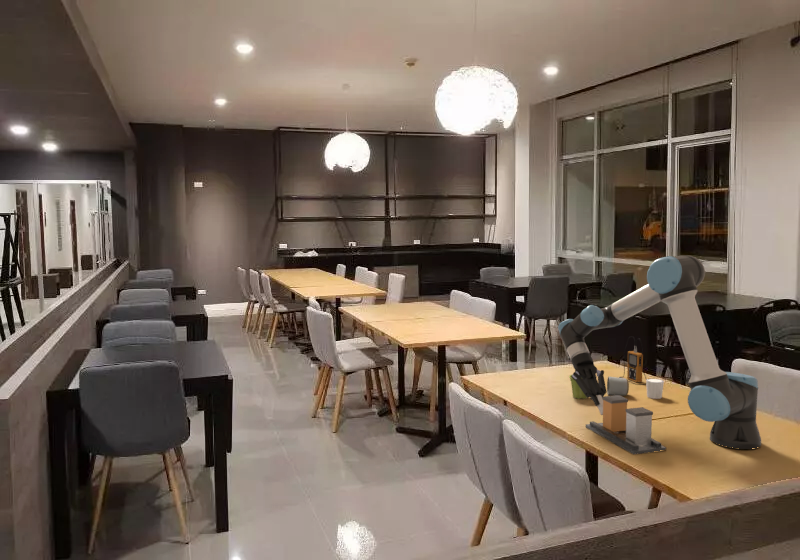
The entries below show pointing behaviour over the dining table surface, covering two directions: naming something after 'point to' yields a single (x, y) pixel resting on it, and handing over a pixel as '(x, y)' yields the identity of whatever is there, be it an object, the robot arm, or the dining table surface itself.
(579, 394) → the plant pot
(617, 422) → the orange tall block
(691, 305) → the robot arm
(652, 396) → the tan white cylinder
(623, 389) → the ceramic mug
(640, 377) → the multimeter
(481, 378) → the dining table surface
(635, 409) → the gray canister tray
